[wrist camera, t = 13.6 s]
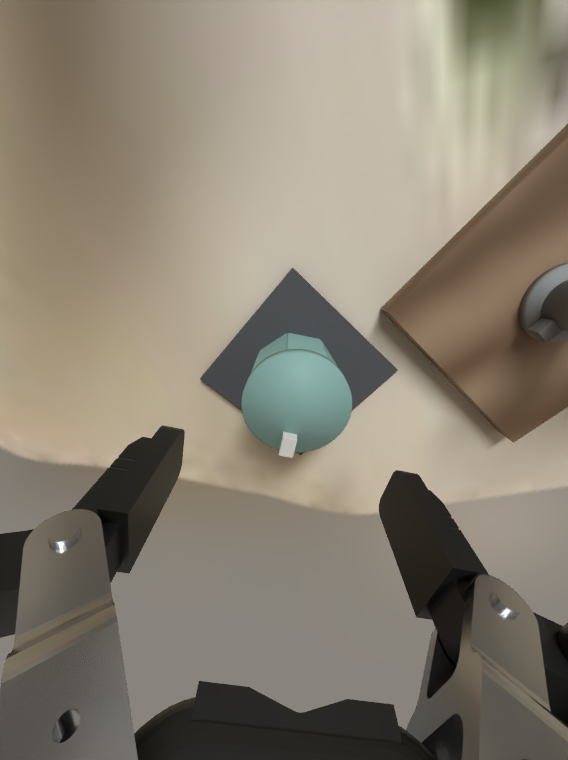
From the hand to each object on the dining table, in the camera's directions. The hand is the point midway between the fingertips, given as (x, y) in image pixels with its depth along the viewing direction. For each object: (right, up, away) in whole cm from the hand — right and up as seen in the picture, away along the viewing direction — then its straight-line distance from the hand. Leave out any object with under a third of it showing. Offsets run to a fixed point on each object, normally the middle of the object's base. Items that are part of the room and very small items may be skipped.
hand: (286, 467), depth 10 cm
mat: (+1, +4, +10) cm, 10 cm away
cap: (+1, +4, +9) cm, 10 cm away
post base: (+16, +8, +7) cm, 20 cm away
